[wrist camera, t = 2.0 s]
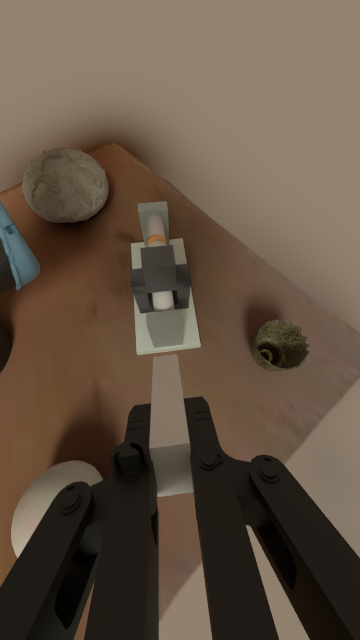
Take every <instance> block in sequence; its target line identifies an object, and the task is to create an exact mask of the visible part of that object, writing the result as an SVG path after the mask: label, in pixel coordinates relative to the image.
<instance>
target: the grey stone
mask: <svg viewBox="0 0 360 640" xmlns="http://www.w3.org/2000/svg"><path fill="white" fill-rule="evenodd" d="M21 187H22V188H23V193H24V197H25V199H26V201H27V202H28V204H29V205H30V207H31V209H32V210H33V211H34V212H36V213H37V215H39V216H40V217H42V218H43V219H45V220H47V221H49V222H53V223H65V222H78V221H85V220H88V219H89V218H90V217H91V216H93V215H95V214H97V212H98V211H99V210H100V209H101V208H102V207H103V206H104V204H105V202H106V200H107V196H108V191H109V190H108V181H107V178H106V175H105V170H104V169H102V168H101V166H100V165H99V163H98V162H97V161H95V160H94V159H93V158H92V157H91V156H89V154H86V153H83V152H82V151H81V150H73V149H64V148H63V149H61V148H59V149H54V150H49V151H47V152H46V151H43V153H42V154H40V155H39V156H38V157H36V158H35V160H33V161H31V164H30V165H26V170H25V173H24V179H23V185H22V186H21Z"/></svg>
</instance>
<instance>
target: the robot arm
mask: <svg viewBox="0 0 360 640" xmlns="http://www.w3.org/2000/svg"><path fill="white" fill-rule="evenodd" d="M39 273H40V265H39V263H38V261H37V259H36V258H35V256H34V254H33V253H32V251H31V249H30V248H29V246H28V244H27V243H26V241H25V239H24V238H23V236H22V235H21V233H20V231H19V230H18V228H17V227H16V225H15V223H14V222H13V220H12V219H11V217H10V215H9V214H8V212H7V210H6V209H5V207H4V206H3V204H2V202H1V201H0V299H1V298H3V297H5V296H7V295H9V294H11V293H13V292H15V291H18V290H20V288H21V287H22V286H24V285H26V284H27V283H29V282H31V281H32V280H34V279H35V278H37V276H38V275H39ZM10 348H11V339H10V334H9V332H8V330H7V328H6V326H5V325H4V324H3V323H2V322H0V372H1V370H2V369H3V367H4V365H5V364H6V361H7V359H8V356H9V353H10ZM110 461H111V464H112V468H113V472H114V473H113V474H111V475H110V476H109V477H108V478H106V479H104V480H102V481H100V482H98V483H96V484H94V485H91V486H89V485H88V483H85V482H83V481H79V482H73V483H71V484H69V485H67V486H66V487H64V488H63V489H62V490H61V491H59V493H58V494H57V495H56V497H55V498H54V499H53V501H52V503H51V504H50V506H49V507H48V509H47V511H46V512H45V514H44V516H43V517H42V519H41V521H40V522H39V524H38V526H37V527H36V529H35V531H34V532H33V534H32V536H31V537H30V539H29V541H28V542H27V544H26V546H25V547H24V549H23V551H22V552H21V554H20V556H19V557H18V559H17V560H16V562H15V564H14V565H13V567H12V569H11V570H10V572H9V574H8V575H7V577H6V579H5V580H4V582H3V584H2V585H1V587H0V640H74V637H75V634H76V631H77V628H78V625H79V622H80V620H81V617H82V614H83V611H84V608H85V605H86V602H87V600H88V597H89V594H90V591H91V588H92V585H93V582H94V580H95V582H94V588H93V593H92V599H91V604H90V610H89V615H88V620H87V626H86V631H85V637H84V640H159V633H158V632H159V513H158V507H157V494H158V497H161V496H168V495H175V494H182V493H189V492H194V498H195V508H196V518H197V523H198V531H199V539H200V547H201V554H202V562H203V570H204V578H205V586H206V593H207V601H208V609H209V616H210V624H211V632H212V640H279V638H278V634H277V631H276V628H275V624H274V621H273V617H272V614H271V611H270V607H269V604H268V600H267V597H266V593H265V590H264V586H263V583H262V580H261V576H260V573H259V569H258V566H257V562H256V559H255V556H254V552H253V549H252V545H251V542H250V538H249V535H248V532H247V528H246V525H249V526H251V528H252V530H253V532H254V534H255V536H256V537H257V539H258V541H259V543H260V545H261V547H262V549H263V551H264V553H265V555H266V557H267V559H268V560H269V562H270V564H271V566H272V568H273V569H274V572H275V574H276V576H277V578H278V579H279V581H280V583H281V585H282V587H283V589H284V591H285V593H286V595H287V596H288V598H289V601H290V602H291V604H292V606H293V608H294V610H295V612H296V614H297V615H298V618H299V620H300V622H301V623H302V625H303V627H304V629H305V631H306V633H307V635H308V637H309V638H310V640H360V558H359V557H358V556H357V554H356V553H355V552H354V550H353V549H352V548H351V547H350V546H349V544H348V543H347V542H346V541H345V539H344V538H343V537H342V536H341V534H340V533H339V532H338V531H337V530H336V528H335V527H334V526H333V525H332V523H331V522H330V521H329V520H328V518H327V517H326V516H325V515H324V514H323V512H322V511H321V510H320V509H319V507H318V506H317V505H316V504H315V503H314V501H313V500H312V499H311V498H310V496H309V495H308V494H307V493H306V491H305V490H304V489H303V488H302V486H301V485H300V484H299V483H298V481H297V480H296V479H295V478H294V477H293V475H292V474H291V473H290V472H289V470H287V468H286V467H285V465H284V464H282V463H281V462H280V461H279V460H278V459H276V458H274V457H272V456H269V455H259V456H256V457H255V458H253V459H252V460H251V462H246V461H240V460H236V459H233V458H231V457H229V456H228V455H227V454H226V453H224V451H223V450H222V449H221V447H220V444H219V441H218V437H217V434H216V430H215V427H214V423H213V420H212V416H211V413H210V409H209V406H208V403H207V401H206V400H205V399H204V398H203V397H202V396H201V397H194V398H186V399H183V392H182V385H181V378H180V371H179V365H178V358H177V354H176V355H167V356H159V357H153V377H152V399H151V404H143V405H135V406H134V407H133V408H132V410H131V411H130V413H129V416H128V424H127V428H126V434H125V440H124V442H123V443H122V444H120V445H119V446H117V448H116V449H115V450H114V451H113V452H112V455H111V457H110Z"/></svg>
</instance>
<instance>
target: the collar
mask: <svg viewBox="0 0 360 640" xmlns="http://www.w3.org/2000/svg"><path fill="white" fill-rule="evenodd" d="M140 251H141V264H142V268H139V269H130V274H131V289H132V292H133V294H134V297H135V300H136V303H137V305H138V308H139V311H140V314H142V313H150V312H154V306H153V295H152V293H155V292H164V291H172V295H173V302H174V310H177V309H186V308H189V298H190V286H191V279H190V274H189V268H188V264H178V265H176V263H175V256H174V249H173V245H166V246H156V247H145V248H140Z"/></svg>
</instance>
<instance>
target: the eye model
mask: <svg viewBox="0 0 360 640" xmlns="http://www.w3.org/2000/svg"><path fill="white" fill-rule="evenodd" d="M102 480H103V479H102V477H101V475H100V474H99V472H98V471H97V469H96V468H95V467H93V466H92V465H90V464H88V463H86V462H83V461H78V460H72V461H67V462H63V463H59V464H57V465H54V466H52V467H51V468H49V469H47V470H46V471H44V472H43V473H42V474H40V475H39V476H38V477H37V478H36V479H35V480H34V481H33V482H32V483H31V484H30V485H29V487H28V488H27V489H26V491H25V492H24V494H23V496H22V497H21V499H20V501H19V503H18V505H17V508H16V510H15V513H14V517H13V521H12V529H11V538H12V545H13V549H14V552H15V554H16V556H17V557H19V556H20V554H21V552H22V551H23V549H24V547H25V546H26V544H27V542H28V541H29V539H30V537H31V536H32V534H33V532H34V531H35V529H36V527H37V526H38V524H39V522H40V521H41V519H42V517H43V516H44V514H45V512H46V511H47V509H48V507H49V506H50V504H51V503H52V501H53V499H54V498H55V497H56V495H57V494H58V493H59V491H61V490H62V489H63V488H64V487H66V486H67V485H69V484H71V483H73V482H79V481H83V482H85V483H88V485H89V486H91V485H94V484H96V483H98V482H100V481H102Z"/></svg>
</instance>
